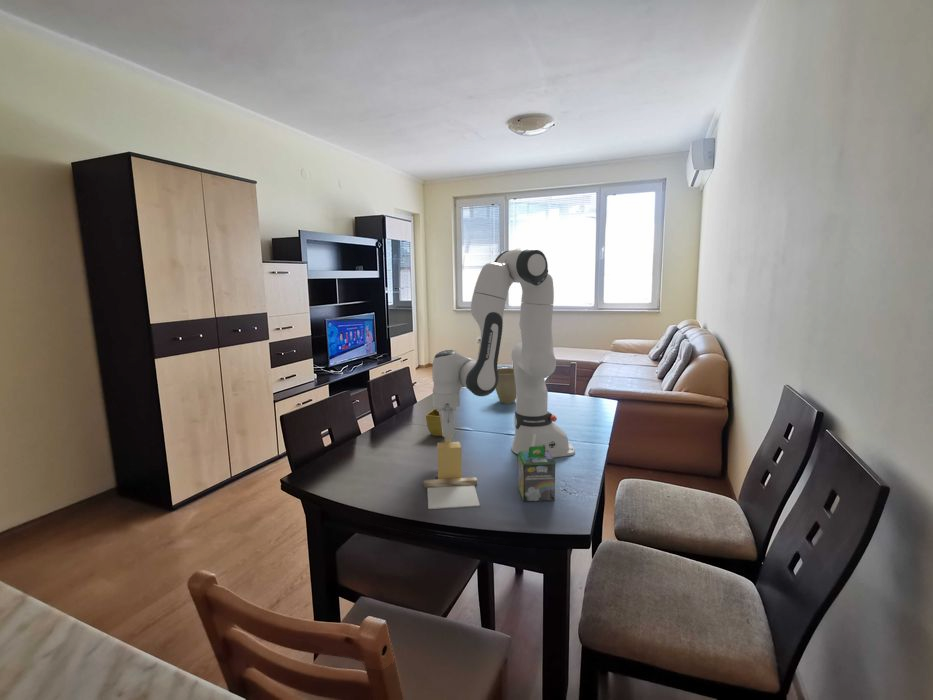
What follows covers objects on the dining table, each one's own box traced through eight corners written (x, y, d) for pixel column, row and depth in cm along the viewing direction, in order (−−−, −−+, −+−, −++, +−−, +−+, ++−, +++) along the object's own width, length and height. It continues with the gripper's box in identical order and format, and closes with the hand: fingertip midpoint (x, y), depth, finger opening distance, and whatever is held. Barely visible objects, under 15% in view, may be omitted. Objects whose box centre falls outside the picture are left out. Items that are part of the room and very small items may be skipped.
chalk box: (548, 486, 133) (549, 438, 130) (555, 501, 124) (556, 450, 121) (517, 487, 132) (517, 439, 130) (522, 502, 123) (523, 451, 121)
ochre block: (460, 474, 141) (459, 441, 139) (461, 481, 136) (461, 447, 134) (438, 476, 140) (437, 442, 139) (438, 483, 135) (438, 448, 134)
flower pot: (446, 439, 173) (445, 416, 172) (425, 436, 176) (425, 414, 174) (454, 431, 181) (453, 410, 180) (434, 429, 184) (433, 408, 183)
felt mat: (474, 486, 133) (474, 485, 133) (479, 506, 121) (479, 505, 121) (427, 488, 132) (427, 487, 132) (428, 509, 120) (428, 508, 120)
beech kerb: (476, 481, 136) (476, 477, 136) (477, 484, 134) (477, 480, 134) (423, 484, 134) (423, 480, 134) (424, 487, 132) (423, 483, 132)
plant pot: (507, 396, 236) (507, 366, 233) (527, 402, 224) (528, 371, 222) (486, 401, 226) (486, 370, 224) (506, 407, 215) (506, 375, 213)
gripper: (458, 408, 135) (459, 452, 137) (453, 392, 155) (454, 430, 157) (437, 409, 134) (438, 453, 136) (435, 392, 154) (436, 431, 156)
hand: (446, 440), depth 147 cm, fingers open, 8 cm apart
